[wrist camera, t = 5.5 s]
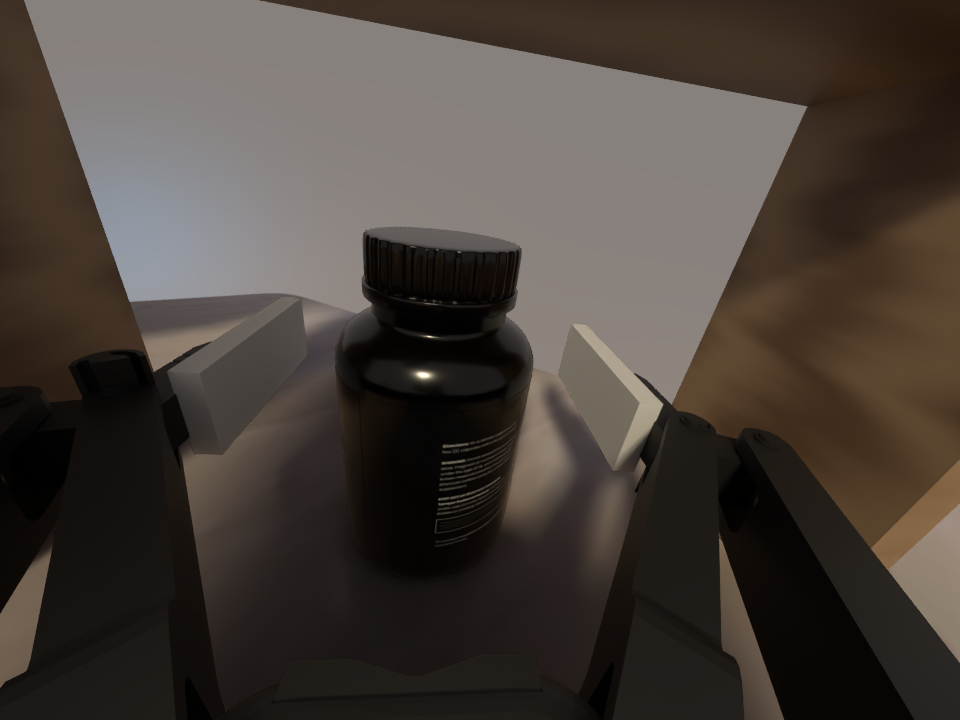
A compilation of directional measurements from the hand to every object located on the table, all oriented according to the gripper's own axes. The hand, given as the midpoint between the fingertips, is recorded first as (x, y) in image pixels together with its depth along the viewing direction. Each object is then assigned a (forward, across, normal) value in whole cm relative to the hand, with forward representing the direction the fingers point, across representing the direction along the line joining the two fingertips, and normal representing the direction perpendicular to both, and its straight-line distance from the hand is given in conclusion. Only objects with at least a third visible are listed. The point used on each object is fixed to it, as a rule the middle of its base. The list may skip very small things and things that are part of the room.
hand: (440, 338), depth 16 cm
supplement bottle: (-4, 0, -7) cm, 8 cm away
